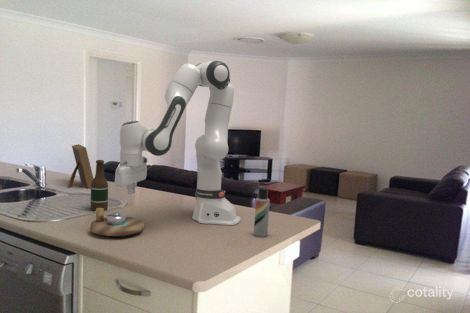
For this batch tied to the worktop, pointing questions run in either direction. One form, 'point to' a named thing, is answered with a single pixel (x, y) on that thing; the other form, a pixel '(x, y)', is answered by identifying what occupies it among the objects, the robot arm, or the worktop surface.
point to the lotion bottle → (261, 213)
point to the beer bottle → (99, 188)
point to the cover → (115, 219)
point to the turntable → (104, 229)
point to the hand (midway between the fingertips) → (131, 193)
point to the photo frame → (81, 166)
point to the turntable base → (117, 236)
